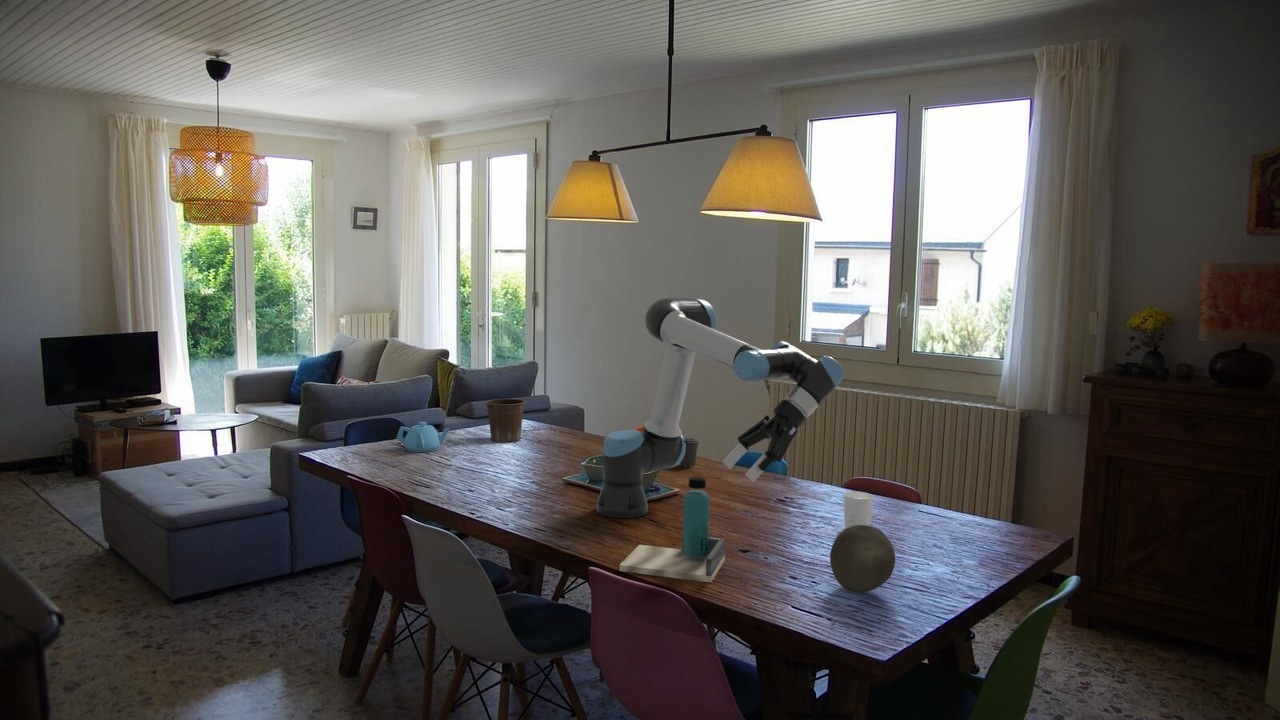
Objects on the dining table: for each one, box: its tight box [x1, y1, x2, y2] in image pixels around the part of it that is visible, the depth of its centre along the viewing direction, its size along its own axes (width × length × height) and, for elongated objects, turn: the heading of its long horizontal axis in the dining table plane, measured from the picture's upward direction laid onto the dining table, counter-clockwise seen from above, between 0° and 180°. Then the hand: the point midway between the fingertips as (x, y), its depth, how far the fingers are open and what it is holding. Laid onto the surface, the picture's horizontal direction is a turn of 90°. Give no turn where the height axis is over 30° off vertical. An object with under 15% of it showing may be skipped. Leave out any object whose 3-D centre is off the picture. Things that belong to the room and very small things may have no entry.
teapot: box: [396, 421, 450, 453], centre depth 330 cm, size 15×15×11 cm
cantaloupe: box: [829, 525, 896, 594], centre depth 190 cm, size 14×14×15 cm
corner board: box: [619, 534, 726, 584], centre depth 205 cm, size 22×16×6 cm
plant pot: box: [485, 398, 526, 443], centre depth 352 cm, size 16×16×16 cm
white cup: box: [843, 491, 874, 530], centre depth 237 cm, size 8×8×10 cm
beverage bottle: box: [681, 476, 711, 557], centre depth 205 cm, size 6×7×20 cm
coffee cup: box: [679, 437, 700, 467], centre depth 311 cm, size 8×8×10 cm
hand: (737, 471), depth 207 cm, fingers open, 13 cm apart
